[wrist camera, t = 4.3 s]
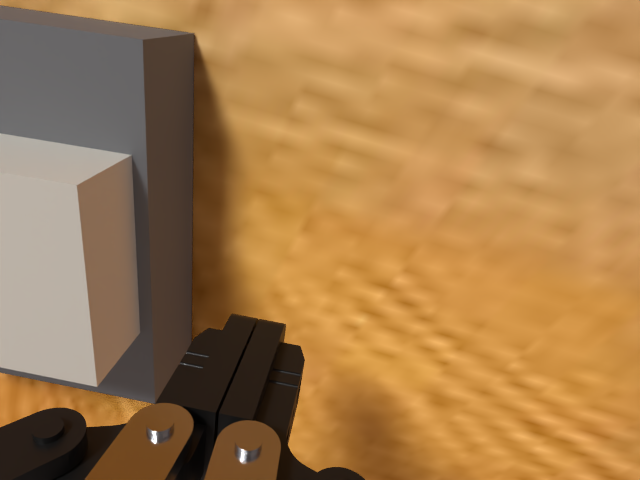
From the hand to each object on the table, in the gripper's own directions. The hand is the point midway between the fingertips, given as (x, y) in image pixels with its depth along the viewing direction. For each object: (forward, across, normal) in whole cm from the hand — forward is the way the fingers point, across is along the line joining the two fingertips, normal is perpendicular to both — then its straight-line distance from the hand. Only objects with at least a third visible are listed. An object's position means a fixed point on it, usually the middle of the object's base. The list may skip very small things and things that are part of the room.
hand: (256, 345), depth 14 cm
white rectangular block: (+4, +10, 0) cm, 11 cm away
